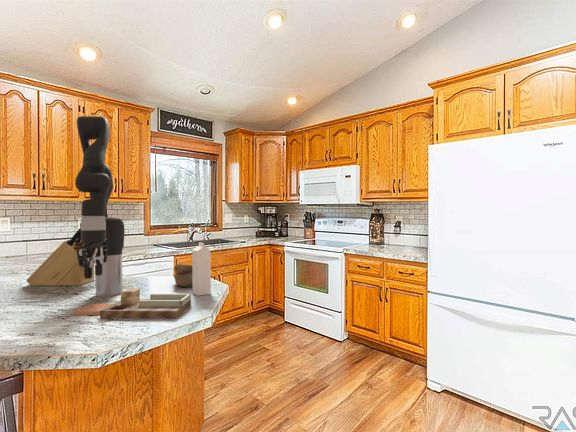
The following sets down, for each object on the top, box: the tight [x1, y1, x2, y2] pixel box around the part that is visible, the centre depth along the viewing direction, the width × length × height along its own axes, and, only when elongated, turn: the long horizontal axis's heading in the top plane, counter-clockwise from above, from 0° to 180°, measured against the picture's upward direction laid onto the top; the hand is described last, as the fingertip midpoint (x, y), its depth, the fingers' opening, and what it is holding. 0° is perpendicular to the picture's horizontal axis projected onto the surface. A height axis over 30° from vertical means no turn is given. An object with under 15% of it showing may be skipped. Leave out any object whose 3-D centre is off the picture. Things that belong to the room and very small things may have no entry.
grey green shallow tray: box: [139, 293, 192, 307], centre depth 111 cm, size 15×9×2 cm, turn 89°
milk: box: [191, 241, 212, 297], centre depth 133 cm, size 6×6×22 cm
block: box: [120, 287, 141, 304], centre depth 111 cm, size 4×4×4 cm
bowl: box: [173, 263, 193, 288], centre depth 147 cm, size 18×14×10 cm
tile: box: [73, 303, 114, 316], centre depth 110 cm, size 9×9×1 cm
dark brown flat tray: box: [99, 298, 192, 320], centre depth 108 cm, size 26×14×2 cm, turn 89°
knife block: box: [25, 227, 107, 287], centre depth 153 cm, size 11×35×31 cm, turn 90°
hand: (93, 276), depth 110 cm, fingers open, 5 cm apart
